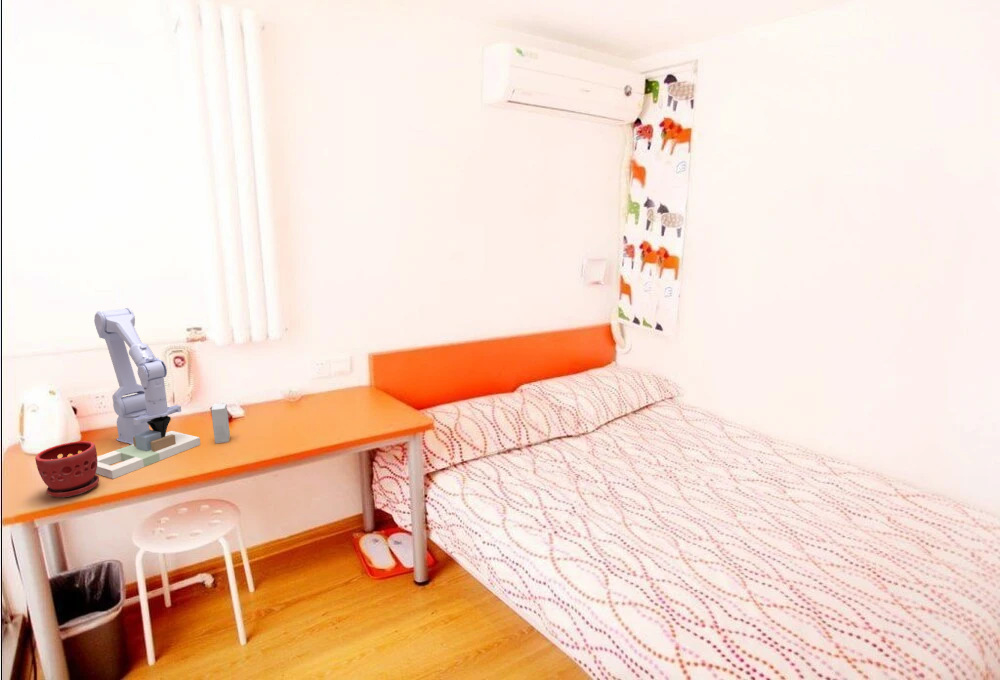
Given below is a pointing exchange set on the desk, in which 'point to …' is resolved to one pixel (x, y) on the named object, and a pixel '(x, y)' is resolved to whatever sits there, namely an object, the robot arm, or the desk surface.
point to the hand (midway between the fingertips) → (161, 439)
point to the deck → (144, 454)
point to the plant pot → (68, 468)
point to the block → (146, 439)
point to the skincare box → (220, 423)
